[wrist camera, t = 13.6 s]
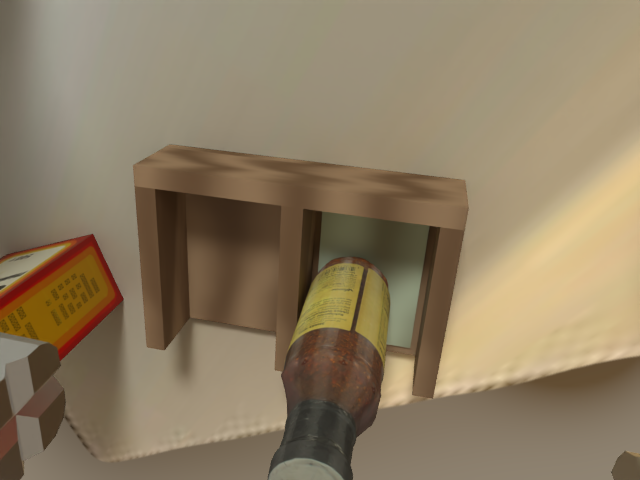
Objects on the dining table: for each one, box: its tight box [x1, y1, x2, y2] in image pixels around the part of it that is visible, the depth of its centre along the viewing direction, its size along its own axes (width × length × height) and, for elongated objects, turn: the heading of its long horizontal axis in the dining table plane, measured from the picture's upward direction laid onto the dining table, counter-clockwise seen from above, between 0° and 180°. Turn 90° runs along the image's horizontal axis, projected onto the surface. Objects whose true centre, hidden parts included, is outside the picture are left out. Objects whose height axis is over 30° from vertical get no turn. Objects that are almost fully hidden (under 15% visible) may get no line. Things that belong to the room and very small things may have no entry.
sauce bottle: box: [268, 256, 391, 480], centre depth 36 cm, size 7×6×20 cm
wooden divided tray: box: [133, 145, 469, 398], centre depth 43 cm, size 22×15×6 cm, turn 86°
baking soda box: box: [0, 234, 123, 361], centre depth 44 cm, size 10×6×16 cm
